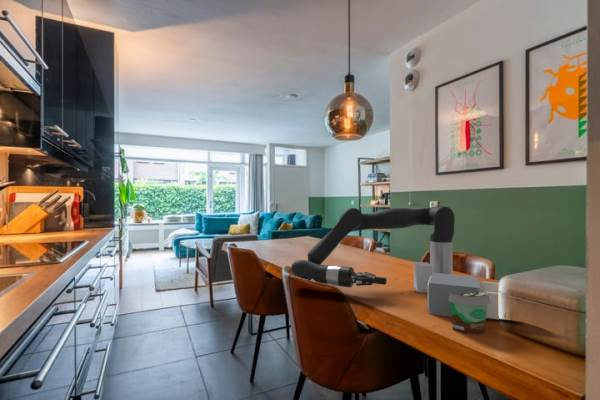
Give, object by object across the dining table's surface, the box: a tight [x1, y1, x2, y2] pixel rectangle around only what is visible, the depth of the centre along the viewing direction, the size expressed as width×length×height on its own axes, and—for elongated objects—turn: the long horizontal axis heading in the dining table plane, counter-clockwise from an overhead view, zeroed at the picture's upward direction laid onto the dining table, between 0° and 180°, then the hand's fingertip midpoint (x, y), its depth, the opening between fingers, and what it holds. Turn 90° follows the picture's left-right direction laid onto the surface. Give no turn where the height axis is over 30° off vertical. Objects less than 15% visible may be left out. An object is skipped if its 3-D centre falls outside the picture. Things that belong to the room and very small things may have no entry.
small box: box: [413, 261, 432, 293], centre depth 123 cm, size 8×6×10 cm
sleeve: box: [428, 273, 481, 318], centre depth 100 cm, size 14×16×10 cm
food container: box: [448, 289, 490, 335], centre depth 82 cm, size 12×6×10 cm, turn 114°
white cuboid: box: [426, 276, 500, 320], centre depth 97 cm, size 25×14×8 cm, turn 63°
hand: (386, 281), depth 109 cm, fingers closed
